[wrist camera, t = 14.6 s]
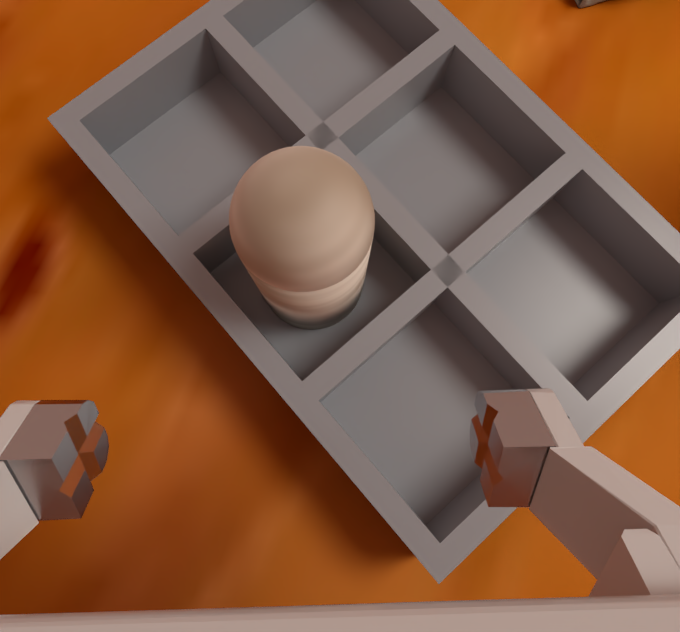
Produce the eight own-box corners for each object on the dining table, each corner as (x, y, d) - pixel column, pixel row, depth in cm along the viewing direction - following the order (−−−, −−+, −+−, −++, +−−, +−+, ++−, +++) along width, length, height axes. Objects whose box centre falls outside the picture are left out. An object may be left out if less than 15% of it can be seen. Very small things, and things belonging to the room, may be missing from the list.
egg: (241, 274, 24) (178, 182, 14) (318, 212, 24) (306, 84, 15) (306, 350, 23) (286, 306, 14) (384, 284, 24) (415, 198, 14)
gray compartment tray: (88, 160, 26) (46, 118, 22) (340, -26, 28) (340, -94, 24) (421, 555, 22) (438, 583, 19) (677, 308, 25) (739, 290, 21)
